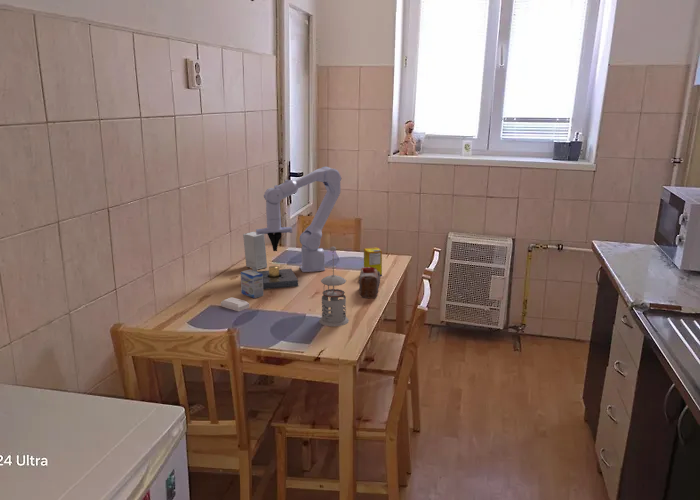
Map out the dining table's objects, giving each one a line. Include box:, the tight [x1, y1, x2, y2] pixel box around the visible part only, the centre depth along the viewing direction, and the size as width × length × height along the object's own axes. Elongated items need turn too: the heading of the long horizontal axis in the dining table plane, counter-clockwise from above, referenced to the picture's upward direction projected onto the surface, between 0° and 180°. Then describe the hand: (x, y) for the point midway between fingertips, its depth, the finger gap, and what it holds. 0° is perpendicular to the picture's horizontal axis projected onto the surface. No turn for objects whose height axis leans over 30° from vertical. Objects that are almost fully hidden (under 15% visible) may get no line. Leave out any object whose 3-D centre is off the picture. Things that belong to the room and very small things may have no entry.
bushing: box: [268, 265, 280, 278], centre depth 224 cm, size 4×4×6 cm
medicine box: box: [240, 269, 264, 299], centre depth 208 cm, size 8×4×9 cm, turn 47°
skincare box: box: [242, 231, 268, 271], centre depth 242 cm, size 8×6×15 cm
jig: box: [251, 267, 299, 290], centre depth 223 cm, size 16×16×4 cm
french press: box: [318, 246, 350, 327], centre depth 182 cm, size 10×12×25 cm
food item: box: [358, 267, 381, 299], centre depth 210 cm, size 14×8×10 cm, turn 179°
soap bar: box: [220, 296, 250, 312], centre depth 197 cm, size 5×9×3 cm, turn 54°
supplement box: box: [363, 246, 383, 277], centre depth 231 cm, size 6×6×11 cm
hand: (275, 250), depth 232 cm, fingers closed
